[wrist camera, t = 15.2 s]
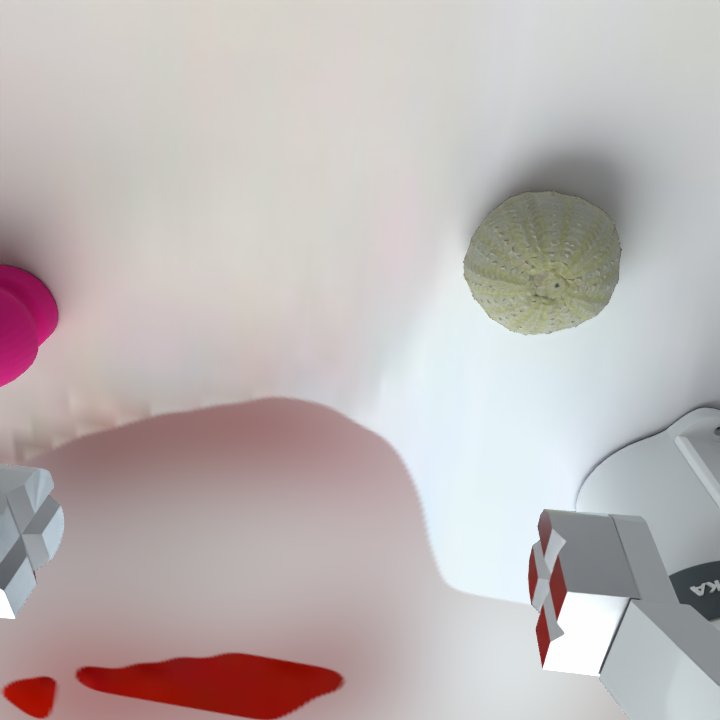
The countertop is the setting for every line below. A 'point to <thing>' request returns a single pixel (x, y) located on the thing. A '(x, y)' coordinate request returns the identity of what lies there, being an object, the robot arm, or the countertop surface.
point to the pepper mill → (22, 320)
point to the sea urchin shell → (543, 262)
